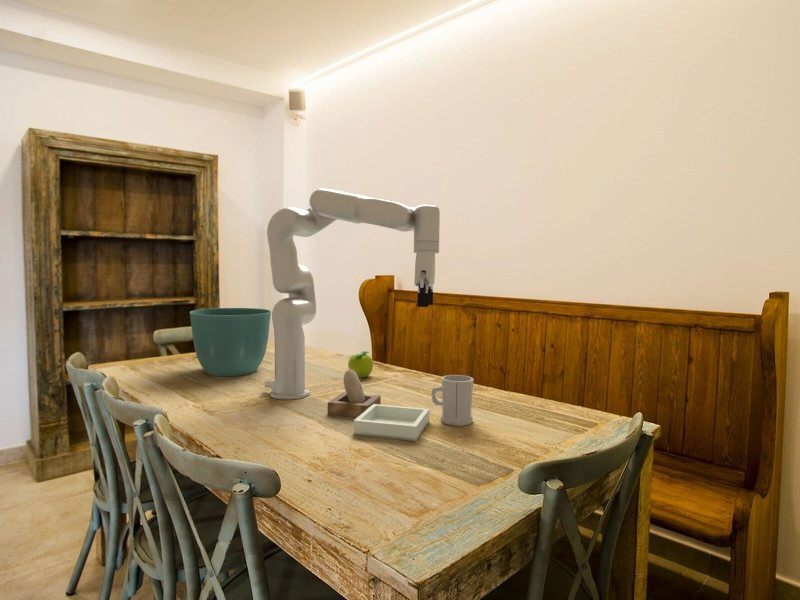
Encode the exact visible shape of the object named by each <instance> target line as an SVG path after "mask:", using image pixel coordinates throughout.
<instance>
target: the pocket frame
mask: <svg viewBox="0 0 800 600" xmlns="http://www.w3.org/2000/svg"><path fill="white" fill-rule="evenodd" d="M364 396H365V403H353V402H350V401H349V398H348V396H347V393H346V391H345V392H342V393H340V394H338V395H337V396H335V397H334V398H331V400H329V401H328V402H327V415H329V416H331V415H332V416H341V417H350V418H357V417H358V416H360V415H361V414H362V413H363V412H365V411H366V410H367V409H368V408H369V407H371V406H372V405H373V404H379V405H382V404H381V400H382V399H381V398H382V397H381V395H379V394H367V393H364Z"/></svg>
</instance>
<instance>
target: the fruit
mask: <svg viewBox="0 0 800 600" xmlns="http://www.w3.org/2000/svg"><path fill="white" fill-rule="evenodd" d="M369 353H370V351H365V350H364V351H361V353H360V354H358V353H357V354H353V355H351V356H350V358H349V359H348V364H347V366H348V370H350V369H351V370H354V371H355V372H356V374H357V376H358V378H359V379H364V378H367V377H368V376H370V375H371V373H372V371H373V369H374V368H373V367H374V362H373V358H372V357H371V356H370V355H369Z"/></svg>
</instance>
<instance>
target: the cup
mask: <svg viewBox="0 0 800 600" xmlns="http://www.w3.org/2000/svg"><path fill="white" fill-rule="evenodd" d="M474 380H475V379H474V378H473V377H471V376H469V375H463V374H462V375H461V374H460V375H459V374H450V375H449V374H448V375H444V376H442V377H440V381H441V385H438V386H434V387H432V389H431V401H432V403H433V404H434V405H435V406H441V408H442V410H441V414H440V421H441V423H442V424H446V425H447V426H456V427H462V426H463V427H464V426H468V425H470V424H472V423H473V421H474V417H473V415H472V405H473V404H472V403H473V400H472V399H473V389H474V382H475V381H474ZM438 392H441V399H442V400H440V399H438V397H437V395H436V394H437V393H438Z"/></svg>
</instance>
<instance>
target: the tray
mask: <svg viewBox="0 0 800 600" xmlns="http://www.w3.org/2000/svg"><path fill="white" fill-rule="evenodd" d="M429 423H430V408H423V407H412V406H399V405H390V404H381V405H379V404H373V405H372V406H371V407H369V408H368V409H367V410H366V411H365V412H363V413H362V414H361V415H360V416H358V417H355V419H354V420H353V435H355V436H362V437H364V436H365V437H373V438H382V439H393V440H402V441H411V442H417V441H418V439H419V438H420V436H421V435H422V434H423V432H424V430H425V429H426V427H427V426H428V425H429Z"/></svg>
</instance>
